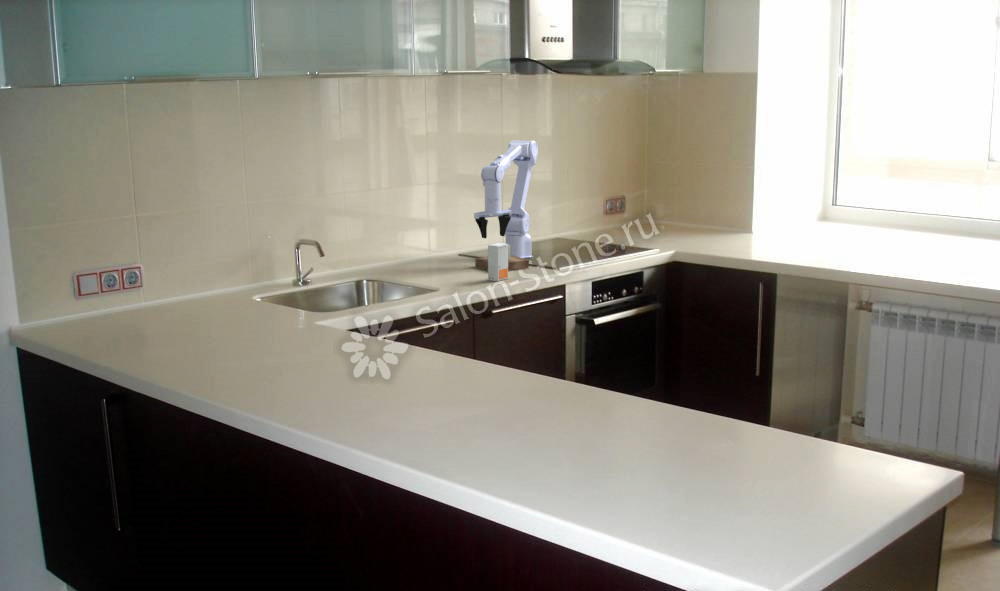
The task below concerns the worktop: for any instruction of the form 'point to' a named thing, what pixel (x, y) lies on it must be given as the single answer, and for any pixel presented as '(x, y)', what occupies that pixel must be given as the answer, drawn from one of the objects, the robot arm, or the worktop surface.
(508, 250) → the sage block
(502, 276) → the skincare box
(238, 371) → the worktop surface
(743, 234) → the worktop surface
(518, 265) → the walnut base
